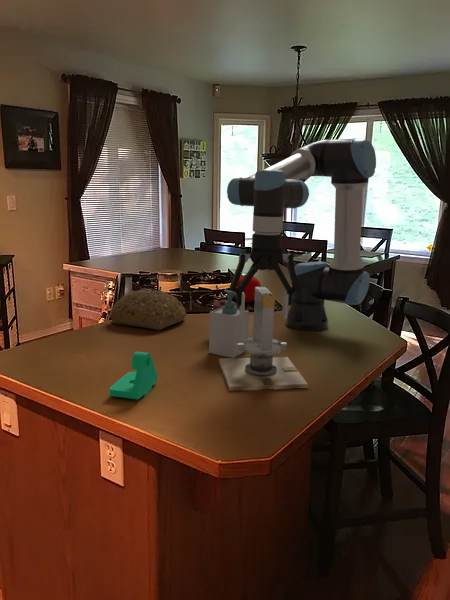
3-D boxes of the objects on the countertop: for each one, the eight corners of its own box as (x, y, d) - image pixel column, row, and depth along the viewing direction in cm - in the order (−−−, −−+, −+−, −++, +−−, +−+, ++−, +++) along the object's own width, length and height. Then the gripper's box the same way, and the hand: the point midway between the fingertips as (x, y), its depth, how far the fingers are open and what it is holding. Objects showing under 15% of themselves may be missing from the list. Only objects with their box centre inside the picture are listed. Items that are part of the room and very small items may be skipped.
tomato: (261, 305, 213) (263, 277, 210) (229, 304, 213) (230, 276, 210) (260, 298, 225) (261, 272, 222) (229, 297, 225) (230, 271, 222)
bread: (103, 325, 177) (102, 292, 175) (136, 312, 197) (135, 281, 194) (164, 335, 169) (164, 300, 166) (192, 319, 188) (192, 288, 185)
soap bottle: (233, 358, 147) (235, 295, 143) (208, 352, 152) (209, 291, 147) (248, 351, 154) (250, 290, 150) (223, 345, 159) (225, 286, 154)
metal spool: (272, 364, 140) (273, 345, 139) (279, 375, 132) (280, 356, 130) (242, 365, 139) (243, 346, 137) (248, 376, 131) (249, 356, 129)
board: (287, 360, 146) (287, 356, 146) (307, 388, 127) (307, 382, 127) (219, 362, 144) (219, 357, 143) (229, 390, 124) (229, 385, 124)
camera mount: (129, 380, 129) (128, 342, 127) (157, 384, 128) (157, 345, 125) (108, 399, 118) (107, 358, 116) (138, 403, 116) (137, 361, 114)
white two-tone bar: (280, 343, 140) (284, 286, 136) (291, 356, 129) (295, 296, 126) (234, 343, 138) (236, 286, 135) (240, 357, 128) (243, 296, 124)
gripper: (307, 232, 132) (302, 313, 137) (219, 231, 129) (217, 314, 134) (316, 235, 125) (310, 320, 130) (223, 234, 122) (221, 321, 127)
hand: (263, 317), depth 132 cm, fingers open, 11 cm apart
